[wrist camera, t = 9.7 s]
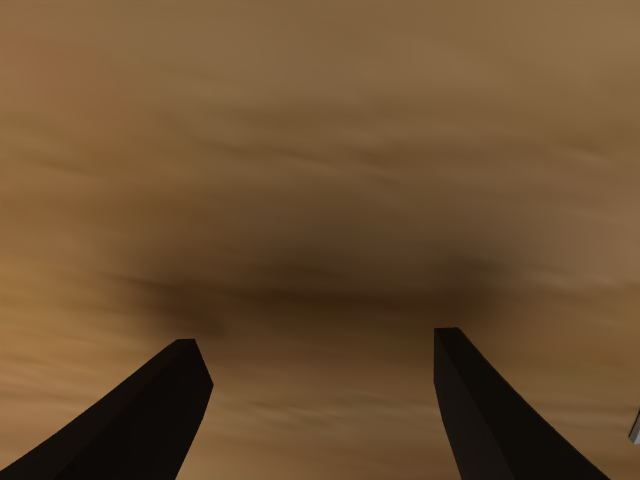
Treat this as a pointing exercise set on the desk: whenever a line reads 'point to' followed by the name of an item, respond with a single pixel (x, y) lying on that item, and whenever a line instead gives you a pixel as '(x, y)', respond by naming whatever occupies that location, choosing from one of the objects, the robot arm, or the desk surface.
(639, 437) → the tray
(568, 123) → the desk surface
